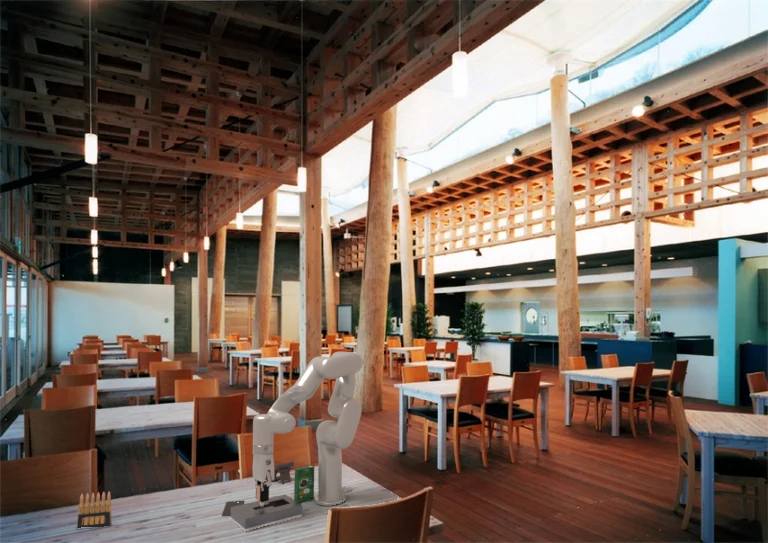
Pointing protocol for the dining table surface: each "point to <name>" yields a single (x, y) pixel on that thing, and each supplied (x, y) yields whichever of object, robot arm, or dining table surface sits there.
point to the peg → (259, 495)
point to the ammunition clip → (94, 511)
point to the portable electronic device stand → (283, 471)
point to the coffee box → (304, 483)
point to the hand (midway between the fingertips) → (262, 499)
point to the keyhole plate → (265, 512)
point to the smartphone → (228, 507)
